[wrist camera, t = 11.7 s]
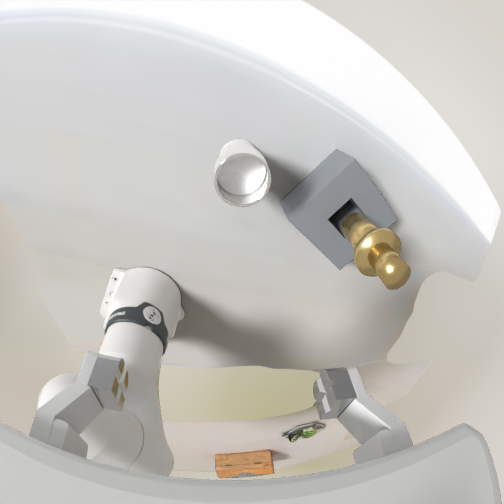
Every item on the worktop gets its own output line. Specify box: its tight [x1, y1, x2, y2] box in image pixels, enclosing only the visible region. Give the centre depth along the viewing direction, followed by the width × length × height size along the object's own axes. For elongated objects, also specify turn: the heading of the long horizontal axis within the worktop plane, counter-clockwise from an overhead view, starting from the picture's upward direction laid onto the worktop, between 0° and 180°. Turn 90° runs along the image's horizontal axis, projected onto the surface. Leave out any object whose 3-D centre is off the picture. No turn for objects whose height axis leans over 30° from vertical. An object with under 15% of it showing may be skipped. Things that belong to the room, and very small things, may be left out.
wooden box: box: [215, 450, 274, 478], centre depth 114 cm, size 30×16×14 cm, turn 98°
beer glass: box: [214, 139, 271, 207], centre depth 37 cm, size 7×7×15 cm
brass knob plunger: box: [341, 212, 410, 290], centre depth 34 cm, size 7×7×14 cm
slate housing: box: [280, 149, 398, 270], centre depth 45 cm, size 14×14×8 cm
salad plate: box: [282, 422, 325, 442], centre depth 101 cm, size 19×18×5 cm
